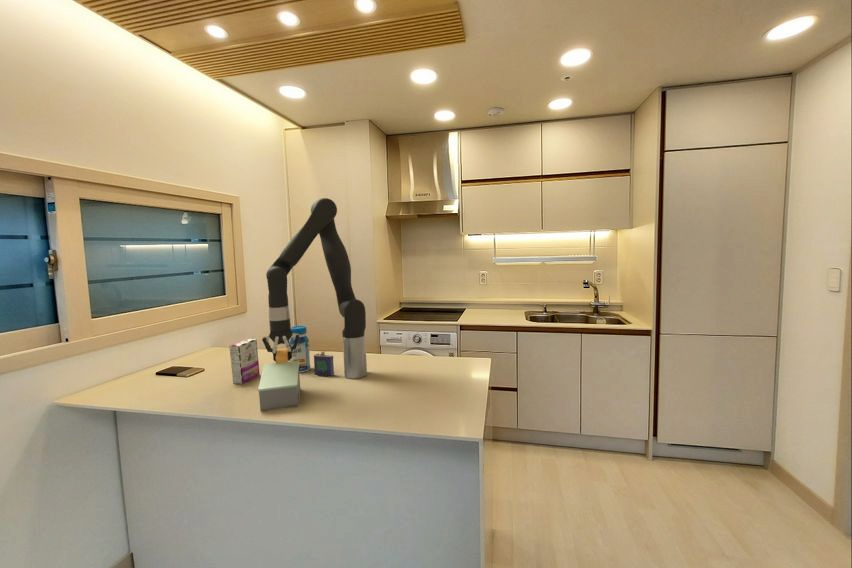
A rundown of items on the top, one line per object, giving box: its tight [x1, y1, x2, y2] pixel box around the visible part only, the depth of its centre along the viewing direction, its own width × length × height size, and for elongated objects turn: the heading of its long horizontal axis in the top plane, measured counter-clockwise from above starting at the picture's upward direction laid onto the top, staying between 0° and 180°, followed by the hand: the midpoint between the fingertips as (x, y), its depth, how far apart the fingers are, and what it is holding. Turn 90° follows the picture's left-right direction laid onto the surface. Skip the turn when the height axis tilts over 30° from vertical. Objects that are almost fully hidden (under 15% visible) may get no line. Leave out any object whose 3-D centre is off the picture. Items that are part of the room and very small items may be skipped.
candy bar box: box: [229, 338, 261, 385], centre depth 153 cm, size 11×5×16 cm, turn 168°
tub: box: [258, 372, 301, 412], centre depth 130 cm, size 12×16×7 cm
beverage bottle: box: [289, 325, 311, 374], centre depth 162 cm, size 8×8×20 cm
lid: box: [257, 347, 299, 393], centre depth 132 cm, size 12×23×4 cm, turn 16°
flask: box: [313, 350, 335, 377], centre depth 155 cm, size 9×3×11 cm, turn 74°
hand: (283, 360), depth 140 cm, fingers closed on lid, 4 cm apart
